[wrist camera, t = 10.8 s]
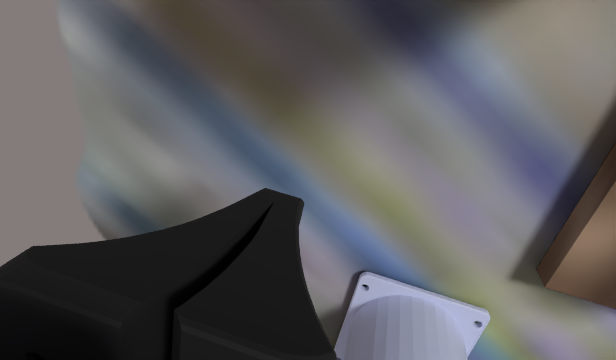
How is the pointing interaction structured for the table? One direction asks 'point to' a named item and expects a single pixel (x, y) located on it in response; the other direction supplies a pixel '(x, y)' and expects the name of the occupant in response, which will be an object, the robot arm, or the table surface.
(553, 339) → the table surface
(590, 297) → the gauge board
